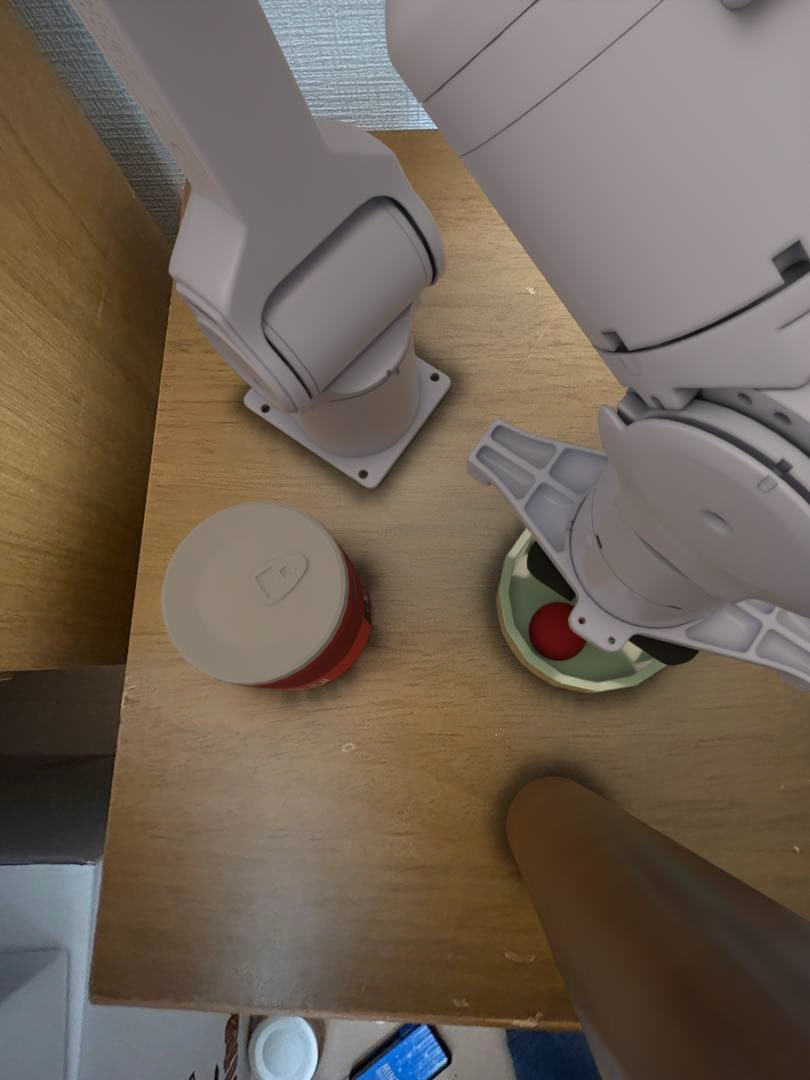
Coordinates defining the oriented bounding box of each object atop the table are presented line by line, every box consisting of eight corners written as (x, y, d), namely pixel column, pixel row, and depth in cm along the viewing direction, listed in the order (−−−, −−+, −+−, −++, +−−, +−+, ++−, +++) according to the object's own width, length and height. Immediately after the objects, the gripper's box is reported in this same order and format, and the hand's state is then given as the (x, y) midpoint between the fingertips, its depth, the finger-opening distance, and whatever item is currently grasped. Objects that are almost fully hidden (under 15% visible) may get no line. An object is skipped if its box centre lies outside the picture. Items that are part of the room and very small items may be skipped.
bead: (516, 653, 41) (524, 639, 39) (536, 602, 42) (545, 585, 40) (570, 675, 41) (582, 662, 38) (589, 623, 42) (602, 608, 39)
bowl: (462, 624, 43) (463, 617, 39) (558, 486, 44) (567, 467, 40) (611, 728, 41) (625, 729, 38) (706, 581, 42) (728, 570, 39)
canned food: (403, 608, 43) (385, 574, 32) (306, 723, 42) (255, 727, 31) (299, 522, 44) (249, 461, 34) (204, 631, 43) (121, 605, 33)
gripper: (411, 490, 24) (428, 568, 37) (843, 778, 22) (696, 753, 35) (539, 314, 25) (511, 451, 38) (966, 570, 23) (778, 622, 36)
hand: (604, 586), depth 37 cm, fingers closed
